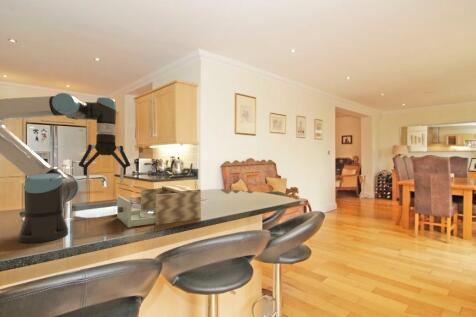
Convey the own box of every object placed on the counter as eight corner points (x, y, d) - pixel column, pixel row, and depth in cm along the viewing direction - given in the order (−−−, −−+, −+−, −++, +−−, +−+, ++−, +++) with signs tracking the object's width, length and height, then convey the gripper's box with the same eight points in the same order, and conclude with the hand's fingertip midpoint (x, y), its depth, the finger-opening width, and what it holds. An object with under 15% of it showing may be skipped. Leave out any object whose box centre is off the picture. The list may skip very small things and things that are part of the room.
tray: (124, 228, 113) (123, 202, 112) (113, 217, 131) (113, 195, 131) (176, 220, 125) (176, 197, 125) (160, 212, 144) (160, 192, 144)
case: (156, 224, 119) (156, 192, 119) (141, 214, 140) (140, 187, 140) (200, 218, 131) (200, 189, 131) (180, 210, 152) (180, 184, 152)
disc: (142, 219, 124) (142, 214, 124) (137, 216, 130) (137, 211, 130) (159, 217, 128) (159, 212, 128) (154, 214, 135) (154, 209, 135)
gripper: (73, 131, 109) (72, 184, 109) (137, 135, 123) (136, 182, 123) (72, 132, 115) (71, 183, 115) (133, 136, 129) (132, 181, 129)
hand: (105, 182), depth 119 cm, fingers open, 13 cm apart
